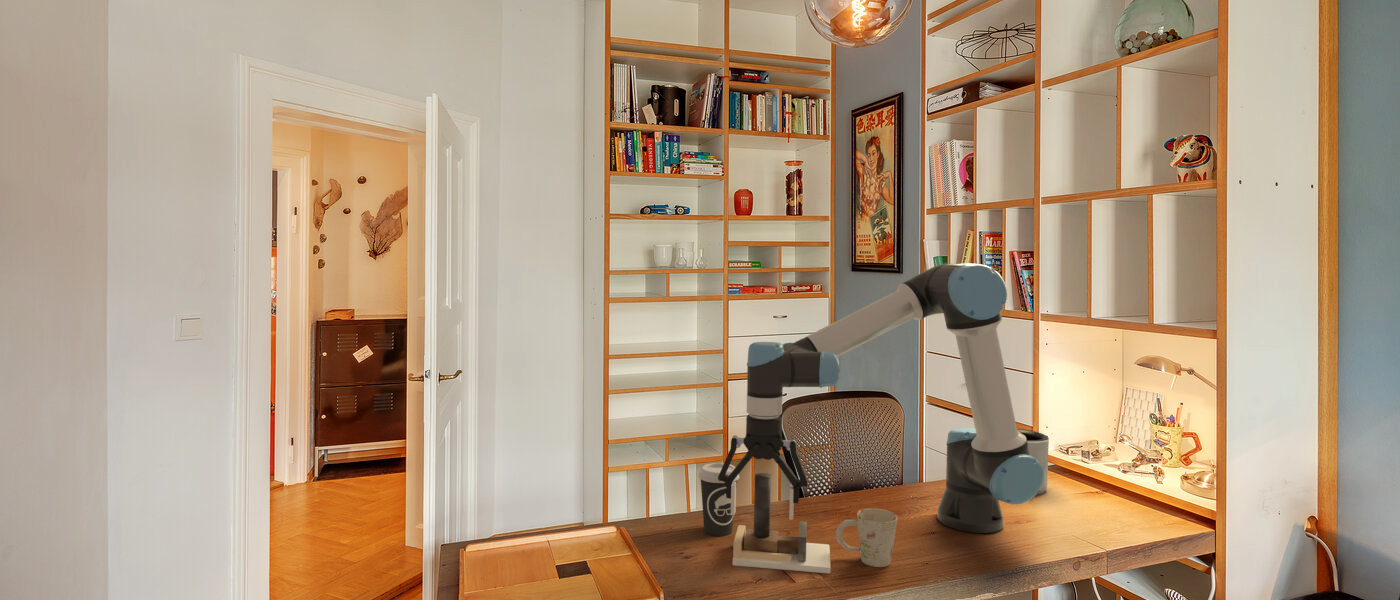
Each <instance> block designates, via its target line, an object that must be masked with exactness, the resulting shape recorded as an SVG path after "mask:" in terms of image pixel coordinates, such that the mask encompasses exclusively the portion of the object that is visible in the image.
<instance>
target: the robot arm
mask: <svg viewBox="0 0 1400 600" xmlns="http://www.w3.org/2000/svg"><path fill="white" fill-rule="evenodd" d="M1007 297H1008V289H1007V286H1006V283H1005V281H1004V279H1003V277H1002V276H1001V274H1000V273H999V272H998V271H996V270H995V269H994V268H992V267H991V266H988V265H984V264H979V263H974V262H969V263H967V262H966V263H965V262H964V263H949V262H948V263H941V264H939V265H935V266H932V267H931V268H929V269H927V270H926V269H925V271H923V272H921V273H919V274H917V275H915V276H913V277H912V278H909V279H908V280H906V281H904V282H902V283H900V284H898V287H897V289H896V291H894V292H891V293H890V294H889V293H888V295H886V296H884V297H882V298H880V299H878V300H876V301H873V302H872V303H870V304H868V305H865V306H863V307H862V308H859V309H857V310H856V311H854V312H852V313H850V314H849V315H846V316H844V317H842V318H840V319H838V320H836V321H834V322H832V323H831V324H829V325H827V326H824V327H822V328H820V329H819V330H817V331H815V332H813V333H811V334H808V335H806V336H805V337H803V338H801V339H799V340H796V341H794V342H785V343H781V342H775V341H754V342H752V343H751V344H750V345H749V346H748V352H747V363H746V367H747V368H746V369H747V373H746V375H747V377H746V379H747V381H746V382H747V386H746V387H747V391H746V392H747V393H746V413H747V414H748V415H747V416H746V418H745V419H746V421H745V422H746V424H745V426H746V428H745V437H740V436H739V437H738V436H737V435H733V436H732V438H731V439H730V449H729V450H728V454H727V455H726V459H725V460H724V465H723V467H722V469H721V471H720V474H719V476H718V480H719V481H723V482H725V483H726V497H727V498H729V499H731V515H734V516H735V514H736V510H737V503H736V502H737V501H736V500H737V487H736V482H734V479H735V478H736V477H737V475H738V474H739V475H740V473H741V472H742V470H743V469H744V468H745V466H746V465H747V464H748V463H749V462H750V461H751V460H752V458H753V459H755V460H761V459H762V460H763V459H764V460H766V461H767V460H768V461H770V460H771V459H773V460H774V462H775V463H776V464H777V465H778V466H779V468H780V469H781V471H782V473H783V474H784V475H785V477H786V479H787V480H788V481H789V483H790V485H789V511H788V513H789V514H788V515H789V516H788V517H789V518H788V520H789V521H790V520H791V521H792V520H794V504H798V503H799V501H800V489H801V488H803V487H807V486H808V485H809V479H808V477H807V474H806V471H805V469H804V466H803V463H802V461H801V458H800V455H799V453H798V450H797V440H796V439H795V438H791V439H783V436H782V433H783V432H782V431H783V430H782V427H783V426H782V425H783V424H782V423H783V418H782V416H781V415H782V414H783V391H784V390H783V389H784V388H820V389H821V388H826V387H827V388H828V387H834V386H836V385H837V384H838V381H839V378H840V373H841V372H840V362H839V359H838V358H839V357H840V356H842V355H844V354H846V353H848V352H850V351H852V350H854V349H856V348H857V347H860V346H862V345H864V344H865V343H868V342H870V341H872V340H873V339H876V338H878V337H880V336H881V335H884V334H885V333H887V332H890V331H891V330H894V329H896V328H897V327H899V326H901V325H903V324H905V323H907V322H909V321H911V320H915V321H921V320H922V319H924V318H927V317H929V316H933V315H938V314H939V315H940V314H943V317H944V321H945V327H946V330H948V331H949V332H951V333H952V334H954V335H955V339H956V344H957V349H958V353H959V358H960V362H961V367H962V372H963V378H964V382H965V386H966V391H967V392H966V393H967V397H968V401H969V405H970V406H969V407H970V411H971V414H972V415H971V416H972V419H973V425H974V428H973V427H960V428H953V429H951V430H950V431H949V432H948V434H947V441H946V444H945V445H946V466H945V467H946V468H945V473H946V474H945V476H946V477H945V490H944V491H943V493H942V495H941V496H942V497H941V499H940V502H939V504H938V507H937V515H936V516H937V517H936V518H937V520H938V521H939V523H941V524H942V525H945V526H946V527H948V528H952V529H954V530H958V531H961V532H967V533H975V534H989V533H996V532H999V531H1001V530H1002V529H1004V514H1003V512H1002V509H1001V505H1000V502H999V501H1001V502H1004V503H1005V504H1009V505H1013V506H1014V505H1022V504H1025V503H1027V502H1030V501H1031V500H1032V499H1033V498H1034V497H1036V496H1037V495H1036V494H1037V491H1038V490H1040V488H1041V486H1042V483H1043V478H1044V473H1043V468H1042V466H1041V464H1040V463H1039V462H1038V461H1037V459H1036V458H1035V457H1033V456H1030V454H1029V449H1028V444H1027V439H1026V437H1025V436H1024V435H1023V434H1021V433H1020V432H1018V431H1017V429H1018V427H1017V423H1016V419H1015V418H1016V417H1015V414H1014V413H1015V412H1014V408H1013V404H1012V398H1011V394H1010V388H1009V384H1008V380H1007V374H1006V369H1005V365H1004V360H1003V355H1002V349H1001V345H1000V340H999V336H998V335H999V334H998V330H997V328H998V327H999V325H1000V324H1001V322H1002V321H1003V317H1002V310H1003V309H1004V306H1005V304H1006V303H1007V299H1008V298H1007ZM741 445H744V446H745V447H746V449H747V451H746V453H745V454H744V456H743V457H742V458H741V459H740V461H739V462H738V463H737V465H735V468H734V470H733V471H732V472H731V473H730V475H729V476H728V475H726V472H727V470H728V467H729V465H731V463H732V460H733V458H734V456H735V454H736V452H737V449H738V448H740V447H741ZM783 447H785V448H786V451H790V456H791V459H792V461H793V464H794V467H795V469H796V472H797V475H798V478H799V479H798V478H797V476H796V475H795V473H794V471H793V470H792V469H791V467H790V466H789V465H788V463H787V462H786V460H785V459H784V458H783V455H782V453H781V452H780V451H781V449H782V448H783Z"/></svg>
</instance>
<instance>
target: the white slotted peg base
mask: <svg viewBox="0 0 1400 600" xmlns="http://www.w3.org/2000/svg"><path fill="white" fill-rule="evenodd" d="M746 527H747V526H746V525H743V524H742V525H741V524H739V525H738V526H737V529H736V533H735V536H734V540H733V543H732V544H733V549H732V551H733V552H732V553H733V554H732V555H733V557H732V566H735V567H747V568H748V567H749V568H761V569H773V570H784V571H785V570H786V571H796V572H808V573H817V574H818V573H819V574H820V573H821V574H831V569H832V568H831V553H830V552H831V551H830V549H831V548H830V544H826V543H816V542H815V543H813V542H806V561H798V553H796V552H784V551H778V552H777V553H768V552H756V551H744V537H745V533H746V529H747V528H746Z"/></svg>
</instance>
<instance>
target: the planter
mask: <svg viewBox="0 0 1400 600" xmlns="http://www.w3.org/2000/svg"><path fill="white" fill-rule="evenodd" d="M1017 431H1018V432H1020V433H1021V434H1023V435H1024V436H1025V437H1026V439H1027V444H1028V449H1029V454H1030V456H1033V457H1035V458H1036V459H1037V461H1038V462H1039V463H1040V464H1041V466H1042V468H1043V473H1044V478H1043V483H1042V486H1041V488H1040V490H1038V491H1037V494H1036V495H1035V496H1037V495H1041V494H1043V493H1045V492H1046V491H1047V490H1048V475H1049V471H1048V470H1049V444H1050V443H1049V440H1050V438H1049V436H1047V435H1046V434H1045V433H1042V432H1039V431H1035V430H1029V429H1025V428H1017Z"/></svg>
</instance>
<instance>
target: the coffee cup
mask: <svg viewBox="0 0 1400 600" xmlns="http://www.w3.org/2000/svg"><path fill="white" fill-rule="evenodd" d="M723 465H724V463H723V462H713V463H706V464H704V465H703V466H702V467H701V470H700V471H699V473H698V479H699V480H700V489H701V502H702V517H703V520H702V521H703V530H704V533H705V534H707V535H709V536H713V537H724V536H729V535H730V534H731V533H732V531H733V524H734V516H735V515H731V499H729V498H727V497H726V483H725V482H723V481H719V480H718V476H719V474H720V471H721V469H722V467H723ZM735 467H736V465H733V464H730V465H729V467H728V470H727V472H726V475H728V476H729V475H730V473H731V472H732V471H733V470H734V468H735ZM738 480H740V473H739V474H738V475H737V477H736V478H735V479H734V482H736V488H737V487H738V486H737V485H738Z"/></svg>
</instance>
